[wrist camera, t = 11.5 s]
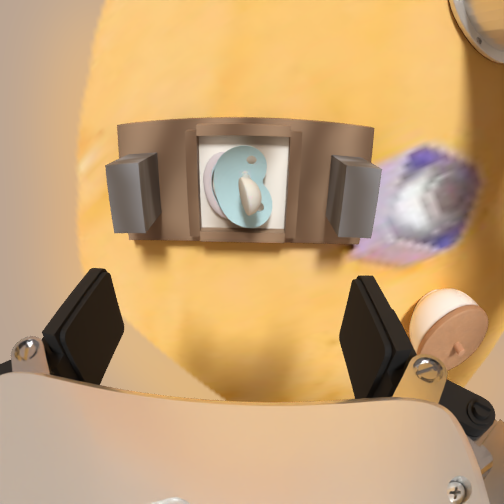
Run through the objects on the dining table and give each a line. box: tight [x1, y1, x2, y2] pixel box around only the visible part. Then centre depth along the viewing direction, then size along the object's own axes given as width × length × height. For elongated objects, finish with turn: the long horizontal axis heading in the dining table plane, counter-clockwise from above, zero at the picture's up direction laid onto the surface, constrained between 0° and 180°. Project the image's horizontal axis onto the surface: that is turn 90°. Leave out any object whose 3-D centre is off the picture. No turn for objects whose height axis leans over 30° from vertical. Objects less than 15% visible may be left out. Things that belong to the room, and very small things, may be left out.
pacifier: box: [203, 145, 272, 228], centre depth 25 cm, size 7×6×6 cm
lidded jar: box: [409, 288, 488, 370], centre depth 32 cm, size 11×11×9 cm
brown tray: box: [105, 117, 382, 244], centre depth 26 cm, size 24×12×6 cm, turn 89°
